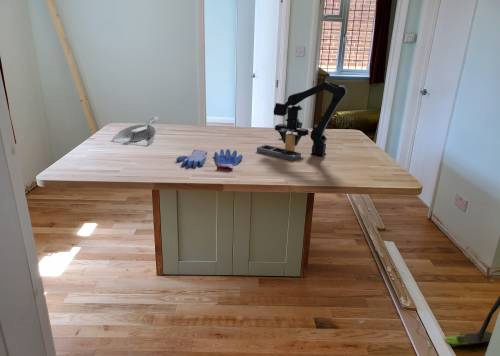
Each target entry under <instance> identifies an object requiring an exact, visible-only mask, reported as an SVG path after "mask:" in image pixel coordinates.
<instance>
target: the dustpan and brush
mask: <svg viewBox="0 0 500 356" xmlns="http://www.w3.org/2000/svg"><path fill="white" fill-rule="evenodd" d="M158 119H159V117H158V116H154V117H151V119H149V120H148V121H147V122H146V123H142V124H133V125H129V126H128V127H125V128H123V129H121V130H120V131H118V132H117V133H116V134H114V136H113V137H112V143H115V144H124V145H129V146H130V145H132V146H139V147H148V146H150V145H151V144H153V143H154V141H155V137H156V136H155V135H156V133H157V129H156V127H155V126H154V124H155V123H156V122H157V121H158ZM128 138H129V141H125V139H128ZM148 138H150V139H149V140H148V142H142V143H140V141H146V140H147V139H148ZM138 142H139V143H138Z"/></svg>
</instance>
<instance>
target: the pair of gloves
mask: <svg viewBox="0 0 500 356" xmlns="http://www.w3.org/2000/svg"><path fill="white" fill-rule="evenodd" d="M219 153H220V154H219ZM219 153H218V152H217V151H214V160H215V163H216V165H217V166H216V169H217V170H220V171H228V172H229V171H233V169H234V168H233V167H234V166H237V164H238V163H241V162H242V160H243V157H244V156H243V154H239V155H238V156H237V154H238V151H237V150H234V151H232V153H231V150H230V149H228V148H227V149H226V151H225V150H224V149H220V151H219ZM207 154H208V151H207V150H197V149H194V150H193V151H192V153H191V154H189V155H179V156H178V157H176V163H181V168H185V167H186V169H188V170H189V169H191V168H192V169H197V167H198V166H199V168H203V167H204V164H205V162H206V159H207V158H206V155H207Z"/></svg>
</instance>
